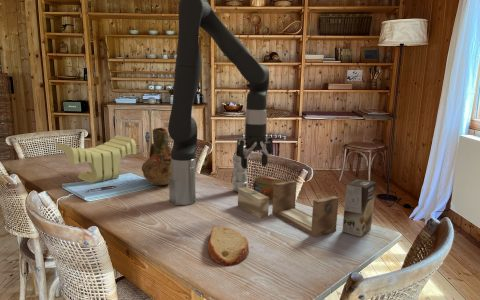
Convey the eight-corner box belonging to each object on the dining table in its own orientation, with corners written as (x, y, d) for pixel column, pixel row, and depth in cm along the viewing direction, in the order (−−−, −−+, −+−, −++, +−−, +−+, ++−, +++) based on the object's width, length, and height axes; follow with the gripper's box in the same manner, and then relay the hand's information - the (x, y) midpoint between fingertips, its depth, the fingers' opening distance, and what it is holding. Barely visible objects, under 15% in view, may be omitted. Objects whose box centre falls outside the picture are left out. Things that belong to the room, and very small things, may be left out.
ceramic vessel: (153, 195, 147) (151, 134, 142) (135, 179, 169) (133, 125, 164) (192, 189, 156) (192, 131, 151) (170, 175, 177) (169, 124, 172)
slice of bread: (219, 229, 117) (219, 218, 116) (267, 245, 107) (268, 234, 106) (179, 250, 103) (179, 237, 102) (230, 271, 92) (230, 257, 92)
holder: (316, 237, 112) (319, 203, 110) (271, 213, 131) (272, 183, 129) (337, 231, 117) (340, 198, 115) (290, 208, 136) (291, 180, 134)
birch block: (258, 218, 127) (259, 198, 125) (237, 206, 138) (238, 187, 137) (268, 216, 129) (268, 196, 127) (246, 204, 140) (247, 186, 139)
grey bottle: (246, 194, 151) (247, 147, 147) (230, 193, 153) (231, 146, 149) (249, 190, 157) (250, 144, 153) (233, 188, 159) (234, 143, 155)
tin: (252, 194, 152) (253, 175, 150) (256, 192, 154) (257, 173, 153) (284, 202, 143) (285, 181, 142) (288, 200, 146) (289, 180, 144)
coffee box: (361, 237, 113) (365, 188, 110) (341, 231, 117) (345, 183, 114) (371, 228, 120) (376, 181, 117) (353, 223, 124) (357, 178, 121)
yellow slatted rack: (76, 188, 153) (73, 147, 150) (58, 181, 163) (55, 142, 160) (137, 175, 176) (135, 138, 172) (118, 169, 186) (117, 134, 182)
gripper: (245, 124, 121) (243, 171, 124) (278, 122, 128) (276, 167, 132) (233, 121, 127) (232, 167, 130) (265, 120, 135) (264, 162, 138)
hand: (254, 167), depth 131 cm, fingers open, 8 cm apart
